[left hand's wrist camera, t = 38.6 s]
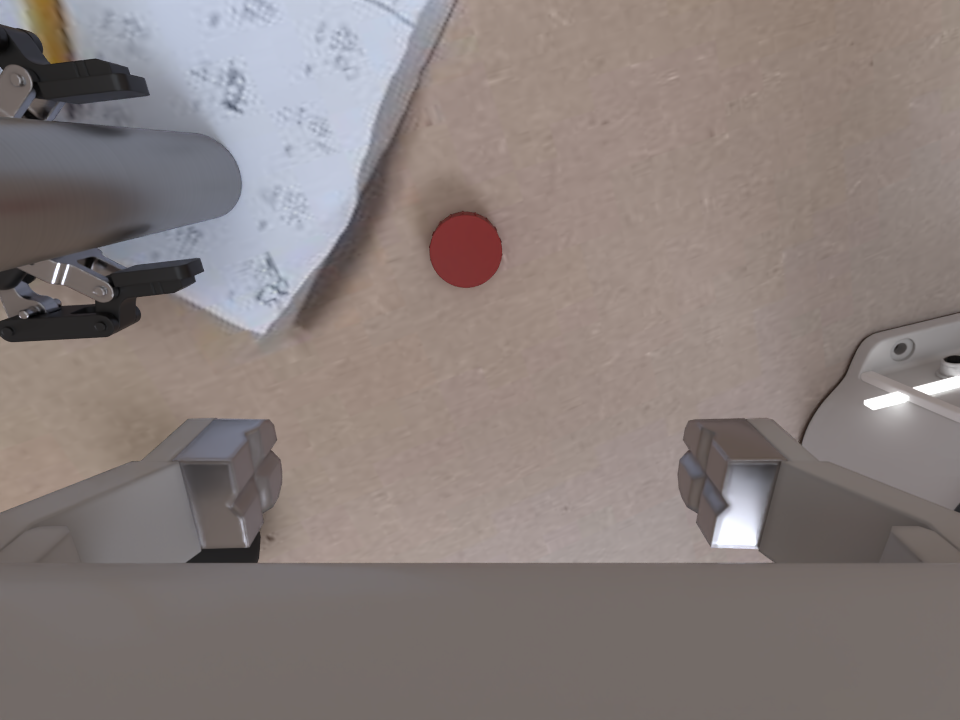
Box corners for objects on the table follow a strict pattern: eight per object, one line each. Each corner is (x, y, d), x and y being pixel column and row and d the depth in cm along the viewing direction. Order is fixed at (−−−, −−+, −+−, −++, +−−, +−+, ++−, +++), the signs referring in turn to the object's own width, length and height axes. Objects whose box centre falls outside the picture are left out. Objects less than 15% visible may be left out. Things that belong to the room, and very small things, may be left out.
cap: (498, 207, 32) (500, 211, 30) (502, 278, 34) (504, 285, 32) (427, 213, 32) (425, 216, 30) (434, 284, 34) (433, 291, 32)
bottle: (175, 223, 32) (-541, 391, 9) (146, 139, 30) (-837, 88, 7) (252, 212, 32) (-279, 354, 9) (227, 127, 30) (-516, 36, 7)
